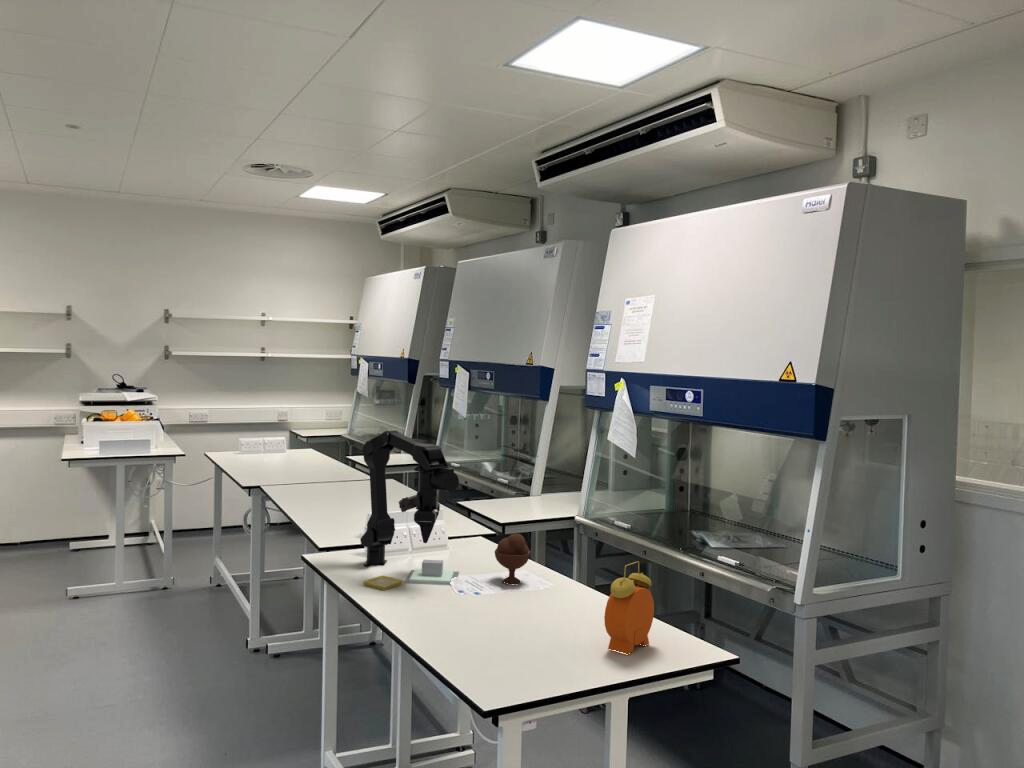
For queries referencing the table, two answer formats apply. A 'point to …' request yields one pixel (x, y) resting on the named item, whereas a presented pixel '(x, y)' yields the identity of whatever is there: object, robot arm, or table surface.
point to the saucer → (384, 578)
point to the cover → (432, 573)
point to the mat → (426, 583)
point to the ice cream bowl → (512, 555)
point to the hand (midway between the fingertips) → (426, 539)
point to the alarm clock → (629, 612)
